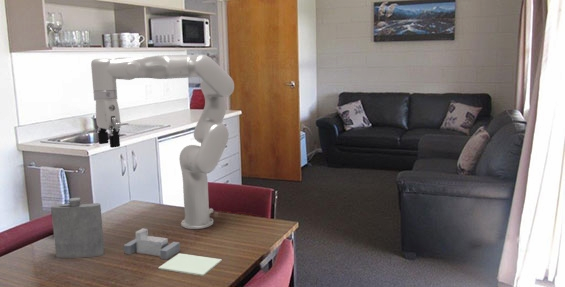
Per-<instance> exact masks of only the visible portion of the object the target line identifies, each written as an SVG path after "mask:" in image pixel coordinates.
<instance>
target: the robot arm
mask: <svg viewBox="0 0 565 287" xmlns="http://www.w3.org/2000/svg"><path fill="white" fill-rule="evenodd" d="M90 63H91V64H90V66H91V67H90V68H91V79H92V91H93V92H92V93H93V101H95V118H96V119H95V122H96V127H97V135H98V144H99V145H105V144H109V145H110V146H109V147H110V148H120V146H121V142H120V130H121V129H120V128H122V123H121V117H120V116H121V115H120V109H119V108H120V107H119V103H118V92H117V91H118V90H117V89H118V88H117V80H125V81H126V80H127V81H131V80H134V79H145V78H146V79H153V80H154V79H156V80H167V79H168V80H169V79H170V80H171V79H186V78H187V79H190V78H191V79H192V78H200V79H201V81H200V90H201V92H202V94H203V96H204V102H205V103H204V107H203V110H202V113H201V114H200V117H199V119H198V121H197V123H196V125H195V128H194V131H193V138H194V139H195V141H196V142H198V143H200V144H201V145H197V144H189V145H186V146H185V147H183V149H182V150H181V151H180V152H179V158H178V159H179V165H180V170H181V174H182V176H181V177H182V189H183V190H182V191H183V207H184V208H183V210H184V219H182V221H181V223H180V226H181V227H182V228H184V229H189V230H199V229H200V230H201V229H206V228H209V227H211V226H212V225H213V224H214V218H212V217H210V215H212V214H213V213H214V209H213V208H212V207H211V208H210V207H209V204H210V203H209V183H208V175H207V174H210V173H211V172H213V171H214V170H215V169H216V168H217V166H218V164H219V162H220V160H221V158H222V156H223V153H224V151H225V149H226V146H227V144H228V141H229V129H228V128H227V126H226V125H225V124H224V123H223V120H224V118H225V116H226V112H227V101H226V98H228V97H230V96H231V95H232V94H233V93H234V90H235V82H234V80H233V78H232V77H231V76H230V75H229V74H228V73H227V72H226V70H224V69H223V68H222V67H221V66H220V65H219V64H218V63H217V62H216V61H215V60H213V59H212V58H211V57H210V56H209V55H206V54H167V55H165V54H163V55H153V56H143V57H142V56H141V57H140V56H139V57H117V58H114V59H112V58H95V59H92V60H91V62H90ZM108 133H109V134H108Z"/></svg>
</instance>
